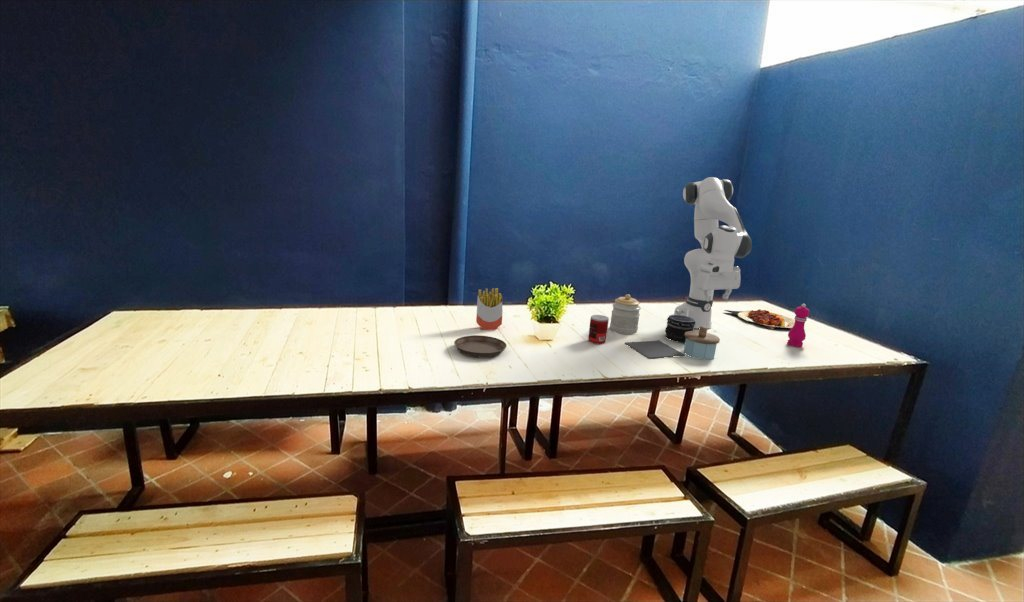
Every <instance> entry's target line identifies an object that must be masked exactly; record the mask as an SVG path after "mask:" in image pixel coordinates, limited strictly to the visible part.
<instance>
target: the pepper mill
mask: <svg viewBox="0 0 1024 602" xmlns="http://www.w3.org/2000/svg"><path fill="white" fill-rule="evenodd" d="M806 306H807V305H806V304H805V303H802V304H801V305H800V306H798V307H796V308H795V309H794V319H793V320H795V323H794V326H793V327H792V328H790V329H789V331H788V334H787V338H788V339H787V345H789V346H791V347H796V348H802V347H803V345H804V341H806V336H807V335H806V329H805V323H806V322H807V320H808V317H809V316H810V313H811V312H810V310H809V308H807V307H806Z"/></svg>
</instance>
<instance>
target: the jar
mask: <svg viewBox="0 0 1024 602" xmlns="http://www.w3.org/2000/svg"><path fill="white" fill-rule="evenodd" d="M614 301H615V302H614V303H612V310H611V319H610V324H609V329H610V331H612V332H613V333H618V334H622V335H635V334H637V333H638V329H639V320H640V316H641V314H640V310H641V309H642V308H641V306H639V305H640V301H638V300H637V299H636V298H633V297H631V295H630V294H627V293H626V294H625V295H624V296H619V297H617V298H615V299H614Z"/></svg>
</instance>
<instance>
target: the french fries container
mask: <svg viewBox="0 0 1024 602" xmlns="http://www.w3.org/2000/svg"><path fill="white" fill-rule="evenodd" d="M476 303H477V304H476V317H475V318H476V321H475V323H476V324H477V325H478V327H480V328H481V329H483V331H489V330H492V331H495V330H497V329H499V328H500V326H502V325H503V324H502V323H503V295H502V294H501V293H499V288H498V287H497V288H492V289H491V291H488V288H485V290H483V291H482V289H478V295H477V302H476Z"/></svg>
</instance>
